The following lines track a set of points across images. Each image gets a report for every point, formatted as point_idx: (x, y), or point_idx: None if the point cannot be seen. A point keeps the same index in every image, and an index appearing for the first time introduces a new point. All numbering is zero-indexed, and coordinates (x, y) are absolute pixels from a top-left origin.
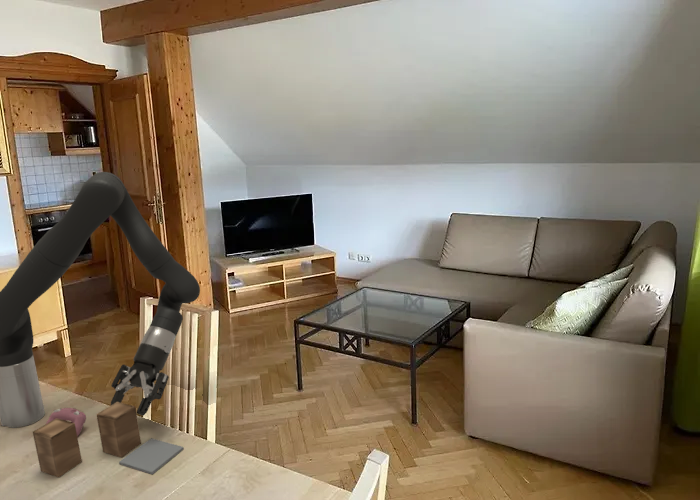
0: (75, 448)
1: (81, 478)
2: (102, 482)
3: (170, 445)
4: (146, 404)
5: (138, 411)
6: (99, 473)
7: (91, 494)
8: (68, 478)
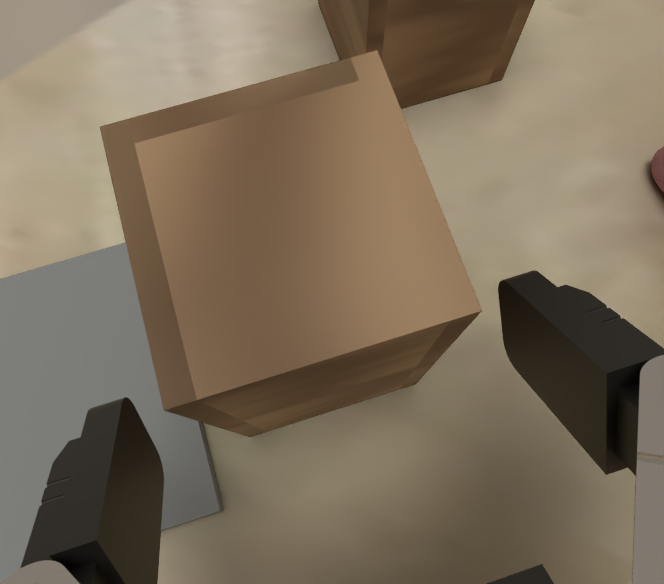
0: (357, 26)
1: (215, 66)
2: (87, 118)
3: (8, 556)
4: (40, 529)
5: (96, 409)
6: None
7: (47, 51)
8: (272, 29)
